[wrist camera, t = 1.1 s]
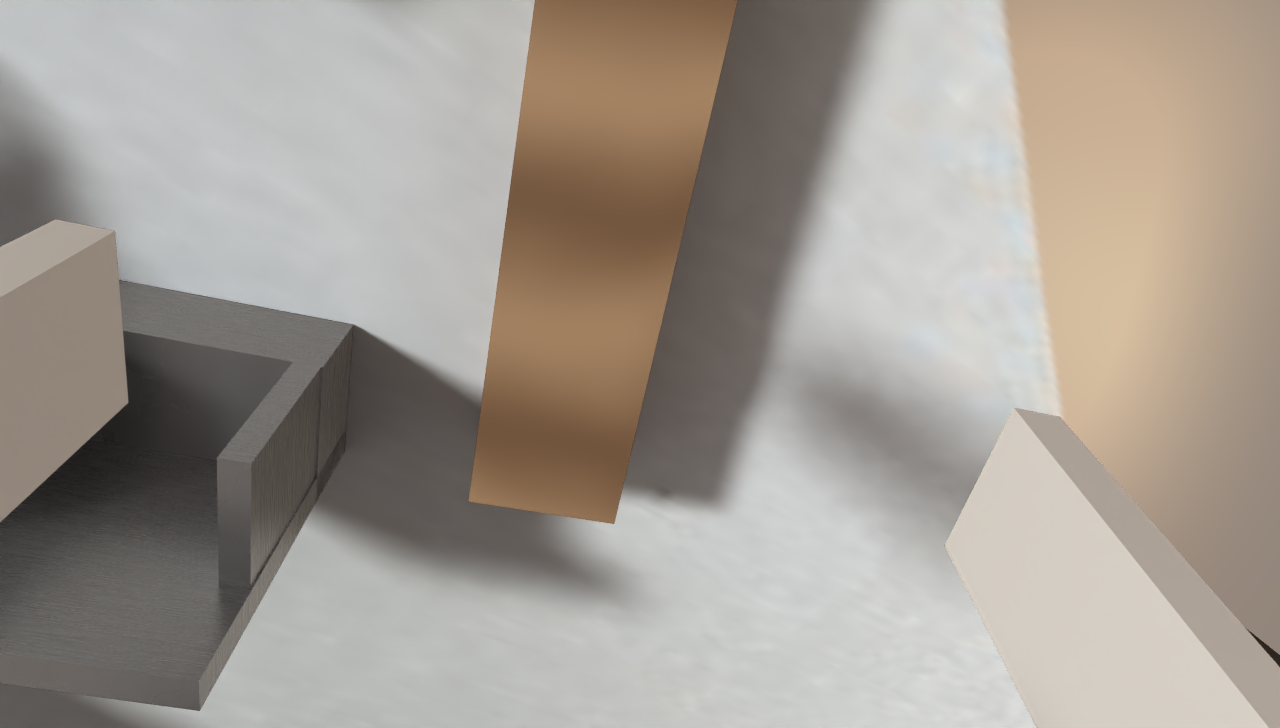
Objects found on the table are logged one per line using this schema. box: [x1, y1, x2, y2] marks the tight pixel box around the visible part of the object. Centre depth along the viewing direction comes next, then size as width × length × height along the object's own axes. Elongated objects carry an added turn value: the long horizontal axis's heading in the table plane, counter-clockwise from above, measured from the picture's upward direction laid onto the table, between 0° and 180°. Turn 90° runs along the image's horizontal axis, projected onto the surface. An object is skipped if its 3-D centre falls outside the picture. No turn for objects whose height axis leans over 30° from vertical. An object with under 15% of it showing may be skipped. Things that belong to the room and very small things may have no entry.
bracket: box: [0, 280, 353, 711], centre depth 23 cm, size 5×8×11 cm, turn 77°
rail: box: [469, 0, 738, 524], centre depth 23 cm, size 19×4×4 cm, turn 168°
